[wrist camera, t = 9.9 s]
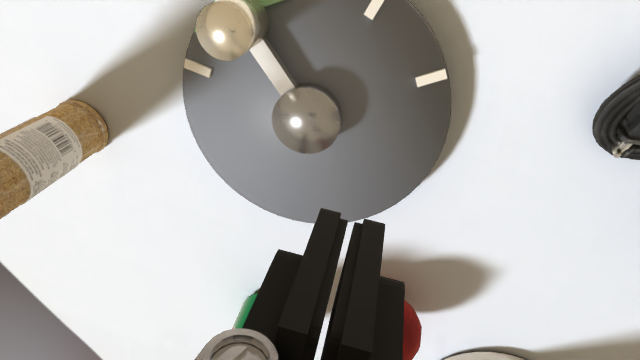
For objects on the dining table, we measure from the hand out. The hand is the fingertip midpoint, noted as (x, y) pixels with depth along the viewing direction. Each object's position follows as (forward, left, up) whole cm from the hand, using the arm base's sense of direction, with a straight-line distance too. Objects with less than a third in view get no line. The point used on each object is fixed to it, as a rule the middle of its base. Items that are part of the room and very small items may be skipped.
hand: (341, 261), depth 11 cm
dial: (+4, +4, -19) cm, 20 cm away
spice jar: (+22, +10, -20) cm, 31 cm away
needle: (+6, +1, -17) cm, 18 cm away
